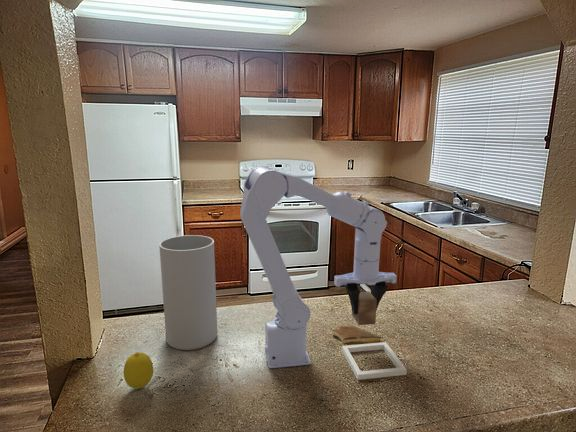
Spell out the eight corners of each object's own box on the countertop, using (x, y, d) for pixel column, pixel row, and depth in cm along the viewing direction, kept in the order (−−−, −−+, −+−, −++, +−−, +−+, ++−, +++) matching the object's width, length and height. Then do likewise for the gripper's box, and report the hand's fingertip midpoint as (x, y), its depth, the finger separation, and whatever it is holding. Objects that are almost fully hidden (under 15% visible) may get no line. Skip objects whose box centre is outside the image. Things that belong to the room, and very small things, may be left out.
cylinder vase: (227, 331, 99) (224, 238, 94) (196, 356, 88) (191, 253, 82) (188, 321, 104) (183, 232, 99) (155, 344, 93) (147, 246, 88)
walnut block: (358, 325, 89) (360, 301, 87) (352, 315, 94) (353, 292, 92) (375, 323, 89) (376, 300, 88) (367, 313, 94) (369, 291, 93)
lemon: (145, 376, 81) (142, 342, 79) (159, 387, 78) (157, 351, 76) (120, 389, 77) (116, 353, 75) (134, 401, 74) (131, 364, 72)
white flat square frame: (357, 379, 80) (357, 374, 80) (341, 350, 91) (342, 346, 91) (406, 374, 82) (406, 369, 82) (385, 346, 93) (385, 342, 92)
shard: (382, 342, 95) (382, 336, 95) (366, 355, 90) (366, 348, 89) (345, 327, 102) (345, 321, 102) (328, 339, 97) (329, 332, 96)
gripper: (341, 265, 83) (339, 322, 86) (404, 262, 85) (399, 317, 88) (332, 254, 90) (330, 308, 93) (390, 252, 92) (387, 304, 95)
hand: (363, 311), depth 91 cm, fingers closed on walnut block, 4 cm apart
